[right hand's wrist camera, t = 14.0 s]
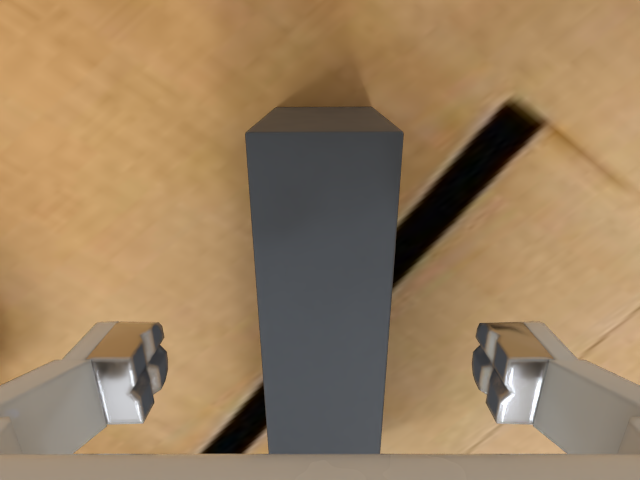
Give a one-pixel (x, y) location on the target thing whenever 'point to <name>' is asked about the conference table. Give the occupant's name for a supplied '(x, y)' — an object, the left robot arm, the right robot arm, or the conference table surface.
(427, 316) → the conference table surface
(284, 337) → the bar
